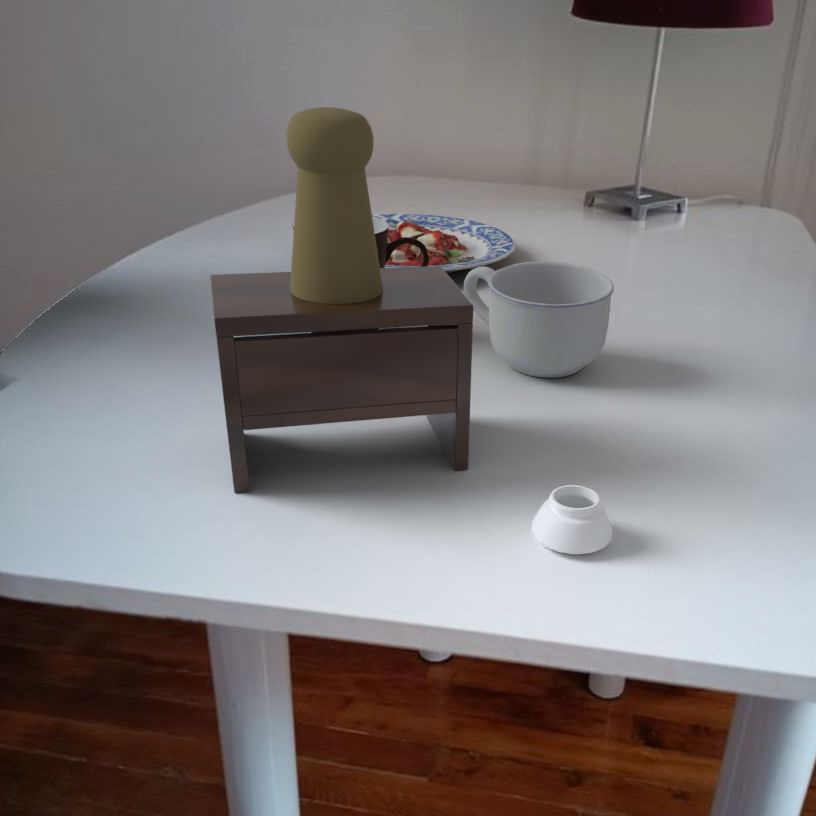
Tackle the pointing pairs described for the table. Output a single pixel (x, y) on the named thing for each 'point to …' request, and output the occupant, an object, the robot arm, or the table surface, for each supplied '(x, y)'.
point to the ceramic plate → (446, 241)
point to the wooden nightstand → (344, 357)
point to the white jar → (572, 521)
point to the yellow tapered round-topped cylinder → (332, 208)
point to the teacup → (544, 315)
